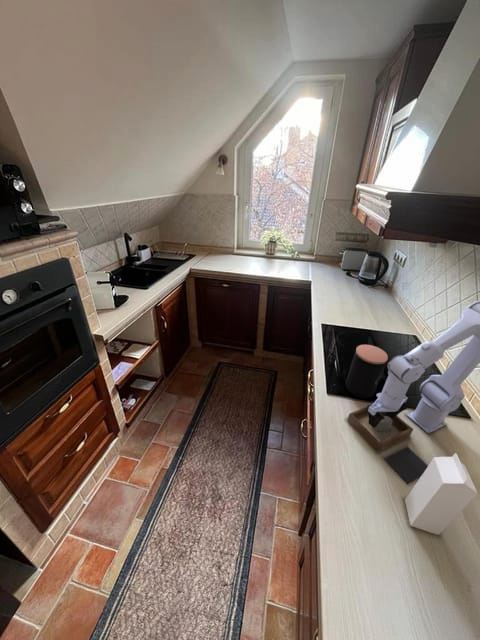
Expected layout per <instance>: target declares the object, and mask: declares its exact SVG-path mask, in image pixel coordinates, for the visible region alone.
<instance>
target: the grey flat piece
mask: <svg viewBox="0 0 480 640" xmlns="http://www.w3.org/2000/svg"><path fill="white" fill-rule="evenodd" d="M383 416H384V415H383ZM384 417H385V419H382V420H381V421H380V422H379V423H378V425H377V426H376V427H375V428H374V429H375V430H376V431H389V430H390V428H391V426H392V424H393V423H392V422H393V421H392V419H391V418H390V417H388V416H384Z"/></svg>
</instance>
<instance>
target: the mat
mask: <svg viewBox="0 0 480 640" xmlns="http://www.w3.org/2000/svg"><path fill="white" fill-rule="evenodd" d="M383 459H384V461H385V462H386V463H387V464H388V465H389V466H390V467H391V468H392V469H393V471H394V472H395V473H396V474H397V475H398V476H399V477H400V478H401V479H402V480H403V481H404V482H405V483H406V484H407V485H408V484H410V483H412V482H414V481H415V480H417V479H419V478H420V477H421V476H422V474H423V473H424V471H425V470H426V468H427V467H428V466H429V465H428V464H426V463H425V462H424V460H423V459H421V458H420V457H419V456H418V455H417V454H416V453H414V451H413V450H412V449H411V448H410V447H408V446H406V447H404V448H402V449H400V450H398V451H396V452H394V453H392V454H391V455H388V456H387V457H384V458H383Z"/></svg>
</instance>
